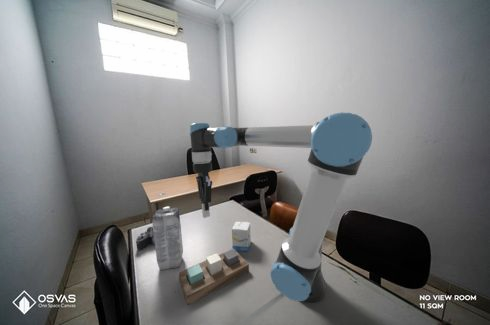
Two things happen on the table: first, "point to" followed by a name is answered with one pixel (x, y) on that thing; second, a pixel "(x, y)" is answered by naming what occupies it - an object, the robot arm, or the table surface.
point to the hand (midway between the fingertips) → (206, 216)
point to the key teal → (195, 274)
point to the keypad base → (212, 278)
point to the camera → (145, 239)
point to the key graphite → (231, 258)
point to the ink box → (241, 236)
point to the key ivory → (214, 264)
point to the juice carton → (167, 238)
